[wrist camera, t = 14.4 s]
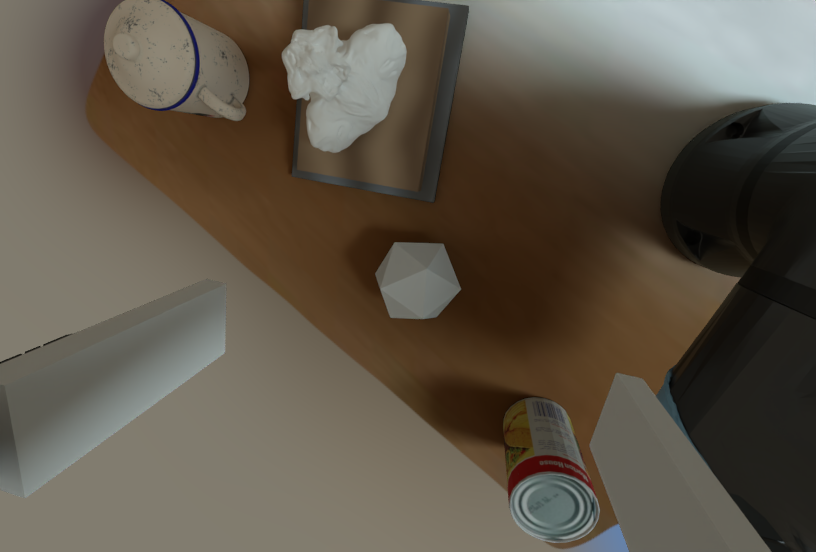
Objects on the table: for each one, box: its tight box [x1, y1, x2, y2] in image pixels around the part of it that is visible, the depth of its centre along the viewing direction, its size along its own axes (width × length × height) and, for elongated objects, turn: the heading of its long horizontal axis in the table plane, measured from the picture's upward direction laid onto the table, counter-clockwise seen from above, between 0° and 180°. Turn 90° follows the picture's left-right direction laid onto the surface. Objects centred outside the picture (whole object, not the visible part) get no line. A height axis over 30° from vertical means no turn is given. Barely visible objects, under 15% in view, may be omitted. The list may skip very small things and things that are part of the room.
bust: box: [282, 23, 407, 153], centre depth 33 cm, size 12×8×11 cm
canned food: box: [503, 397, 600, 543], centre depth 41 cm, size 8×8×12 cm
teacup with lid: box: [104, 0, 249, 121], centre depth 37 cm, size 12×9×12 cm
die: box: [375, 242, 461, 319], centre depth 41 cm, size 8×9×10 cm
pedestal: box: [292, 0, 469, 203], centre depth 39 cm, size 16×18×3 cm
